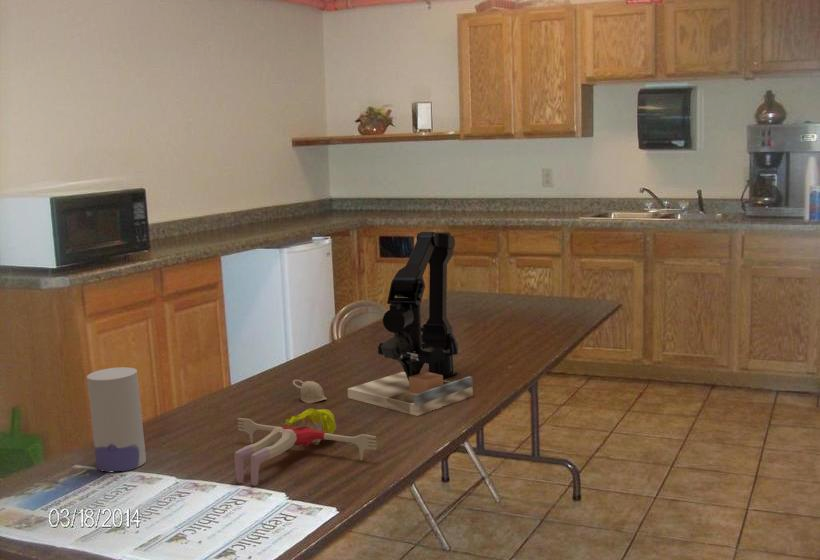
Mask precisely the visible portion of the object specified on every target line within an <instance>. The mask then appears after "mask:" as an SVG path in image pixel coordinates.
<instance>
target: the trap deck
mask: <svg viewBox="0 0 820 560" xmlns="http://www.w3.org/2000/svg"><path fill="white" fill-rule="evenodd" d="M473 389H474V387H473V376H466V377H463V378H460V379H457V380H454V381H449V380H444V379H443V385H442V386H439V387H436V388H433V389H430V390H427V391H424V392H421V393H418V394H414V393H410V390H409V381H408V378H407V376H406V373H405V371H401V372H397V373H394V374H391V375H388V376H384V377H381V378H378V379H374V380H371V381H369V382H368V381H367V382H365V383H362V384H358V385H354V386H351V387H349V388H347V399H351V400H354V401H358V402H362V403H365V404H369V405H374V406H378V407H382V408H385V409H389V410H393V411H397V412H400V413H406V414H409V415H412V416H417V417H419V416H421V415H424V414H428V413H429V412H433V411H436V410H438V409H441V408H444V407H446V406H449V405H452V404H454V403H457V402H460V401H464V400H466V399H468V398H472V397H473V395H474V392H473ZM443 406H444V407H443ZM435 409H436V410H435ZM432 410H433V411H432Z"/></svg>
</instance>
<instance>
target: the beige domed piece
mask: <svg viewBox="0 0 820 560" xmlns="http://www.w3.org/2000/svg"><path fill="white" fill-rule="evenodd" d="M296 382H298V383H300V384H301V386H300V385H297V384H296ZM292 384H293V386H294V387H295V388H297V389H298V390H299V389H300V395H301V397H300V400H301V401H302V402H304V403H306V404H314V403H318V402H322V401H324V400H328V398H327V397H326V396H325V394H324V393H325V392H324V389H323V388H322V386H321V385H320V384H319V383H318V382H315V381H312V380H311V381H310V380H306V381H302V380H300V379H294V380H293V381H292Z"/></svg>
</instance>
